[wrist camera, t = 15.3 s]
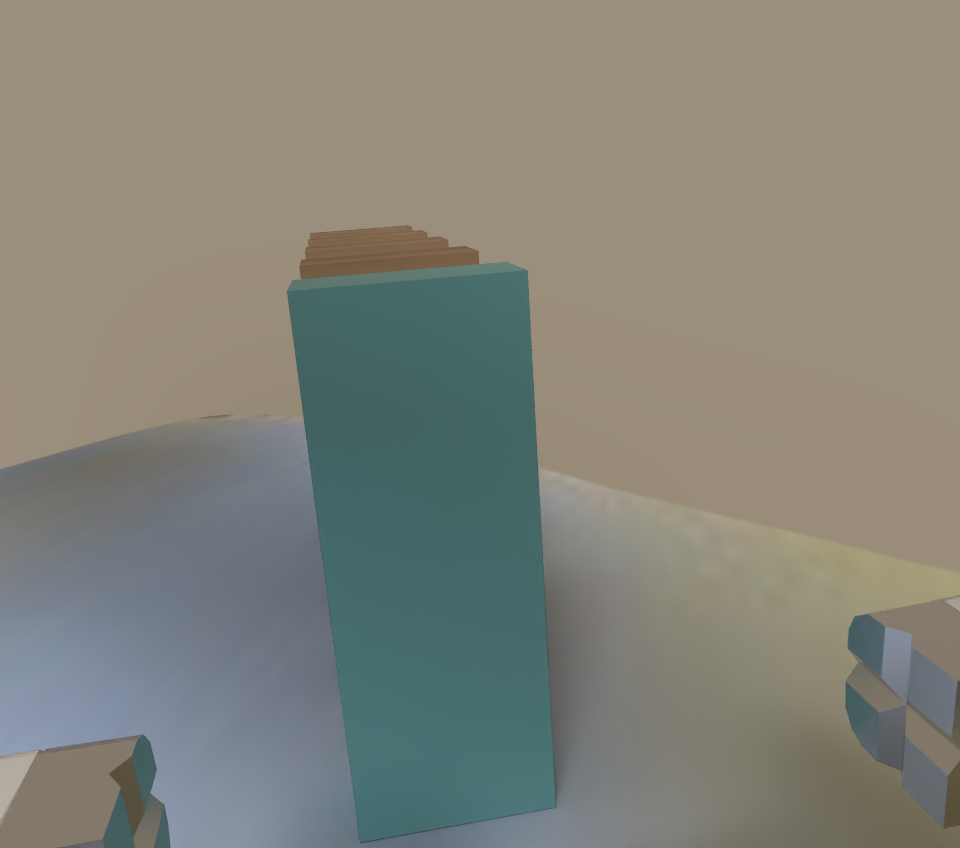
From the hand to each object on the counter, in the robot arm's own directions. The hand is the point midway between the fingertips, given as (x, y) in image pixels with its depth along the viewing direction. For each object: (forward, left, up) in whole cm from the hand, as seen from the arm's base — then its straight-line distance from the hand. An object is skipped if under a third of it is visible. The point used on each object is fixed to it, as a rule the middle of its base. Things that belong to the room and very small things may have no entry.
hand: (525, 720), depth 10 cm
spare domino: (-4, +7, -8) cm, 11 cm away
